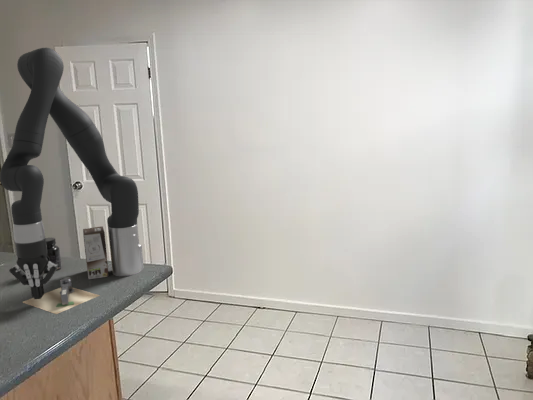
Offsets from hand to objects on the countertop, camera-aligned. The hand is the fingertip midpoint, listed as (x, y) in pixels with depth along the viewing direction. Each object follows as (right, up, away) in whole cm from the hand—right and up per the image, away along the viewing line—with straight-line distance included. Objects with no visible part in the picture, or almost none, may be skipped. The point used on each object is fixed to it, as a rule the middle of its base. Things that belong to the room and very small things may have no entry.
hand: (38, 297), depth 132 cm
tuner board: (+5, -2, +4) cm, 7 cm away
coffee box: (+8, +2, +24) cm, 25 cm away
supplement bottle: (-10, +2, +29) cm, 31 cm away
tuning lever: (+6, 0, +4) cm, 7 cm away
